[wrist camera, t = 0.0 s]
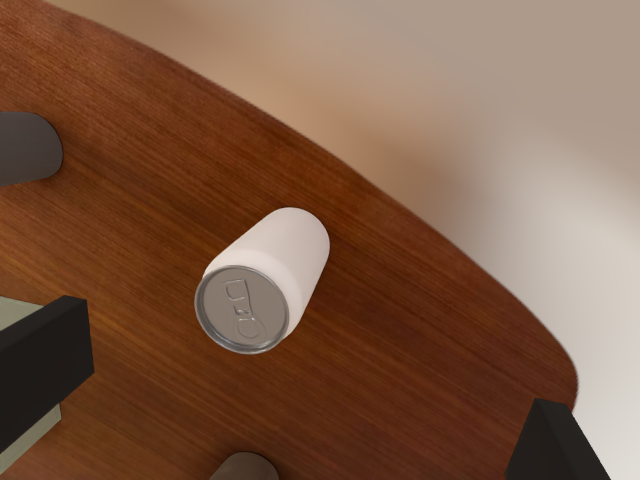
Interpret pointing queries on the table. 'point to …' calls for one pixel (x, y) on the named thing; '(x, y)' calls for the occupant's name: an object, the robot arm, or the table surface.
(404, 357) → the table surface
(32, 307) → the bin
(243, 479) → the flower pot
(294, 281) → the can
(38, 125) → the bottle
